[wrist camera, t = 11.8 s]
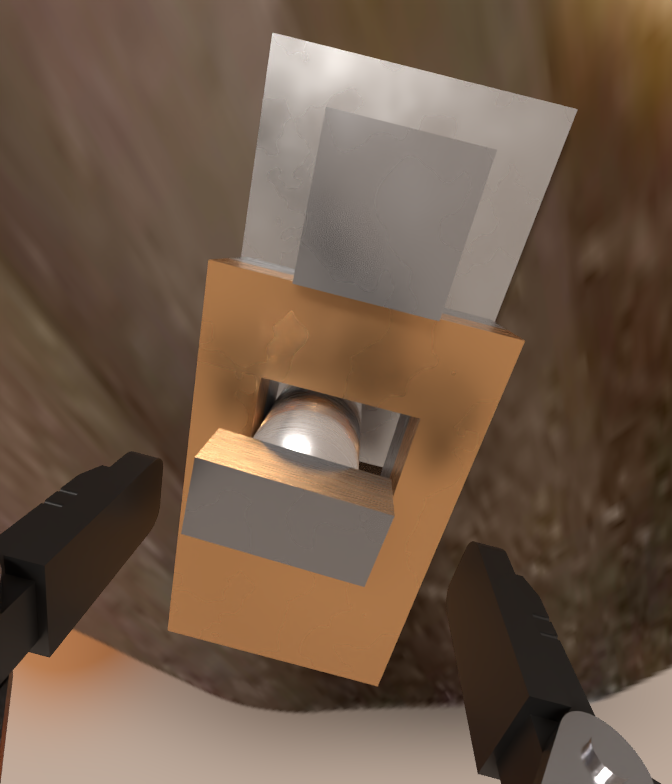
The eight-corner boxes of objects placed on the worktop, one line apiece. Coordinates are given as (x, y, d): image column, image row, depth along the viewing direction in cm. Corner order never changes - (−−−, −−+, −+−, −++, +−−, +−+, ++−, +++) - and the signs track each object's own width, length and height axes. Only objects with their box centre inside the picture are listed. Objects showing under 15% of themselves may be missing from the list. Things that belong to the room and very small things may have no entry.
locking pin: (298, 326, 22) (198, 435, 9) (383, 352, 22) (403, 496, 9) (283, 384, 23) (177, 551, 10) (364, 408, 23) (357, 603, 10)
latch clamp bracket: (277, 43, 18) (120, -283, 7) (567, 116, 18) (875, -98, 7) (216, 468, 27) (101, 626, 16) (412, 519, 27) (438, 715, 16)
